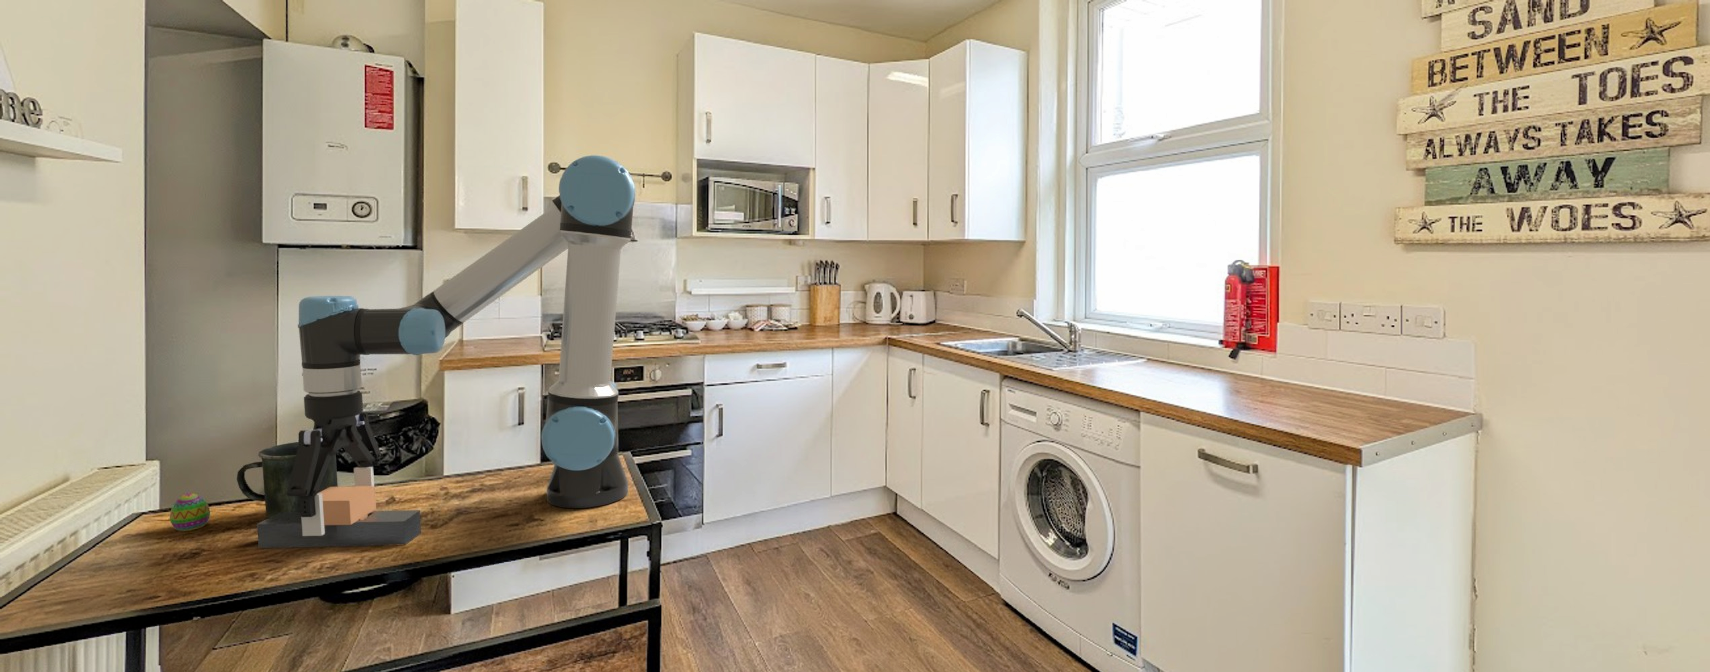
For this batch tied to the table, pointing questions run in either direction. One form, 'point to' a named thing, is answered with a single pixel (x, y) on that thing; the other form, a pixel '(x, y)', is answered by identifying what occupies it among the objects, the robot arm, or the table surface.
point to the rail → (341, 531)
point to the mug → (281, 478)
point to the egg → (189, 512)
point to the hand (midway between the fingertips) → (341, 518)
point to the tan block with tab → (347, 504)
